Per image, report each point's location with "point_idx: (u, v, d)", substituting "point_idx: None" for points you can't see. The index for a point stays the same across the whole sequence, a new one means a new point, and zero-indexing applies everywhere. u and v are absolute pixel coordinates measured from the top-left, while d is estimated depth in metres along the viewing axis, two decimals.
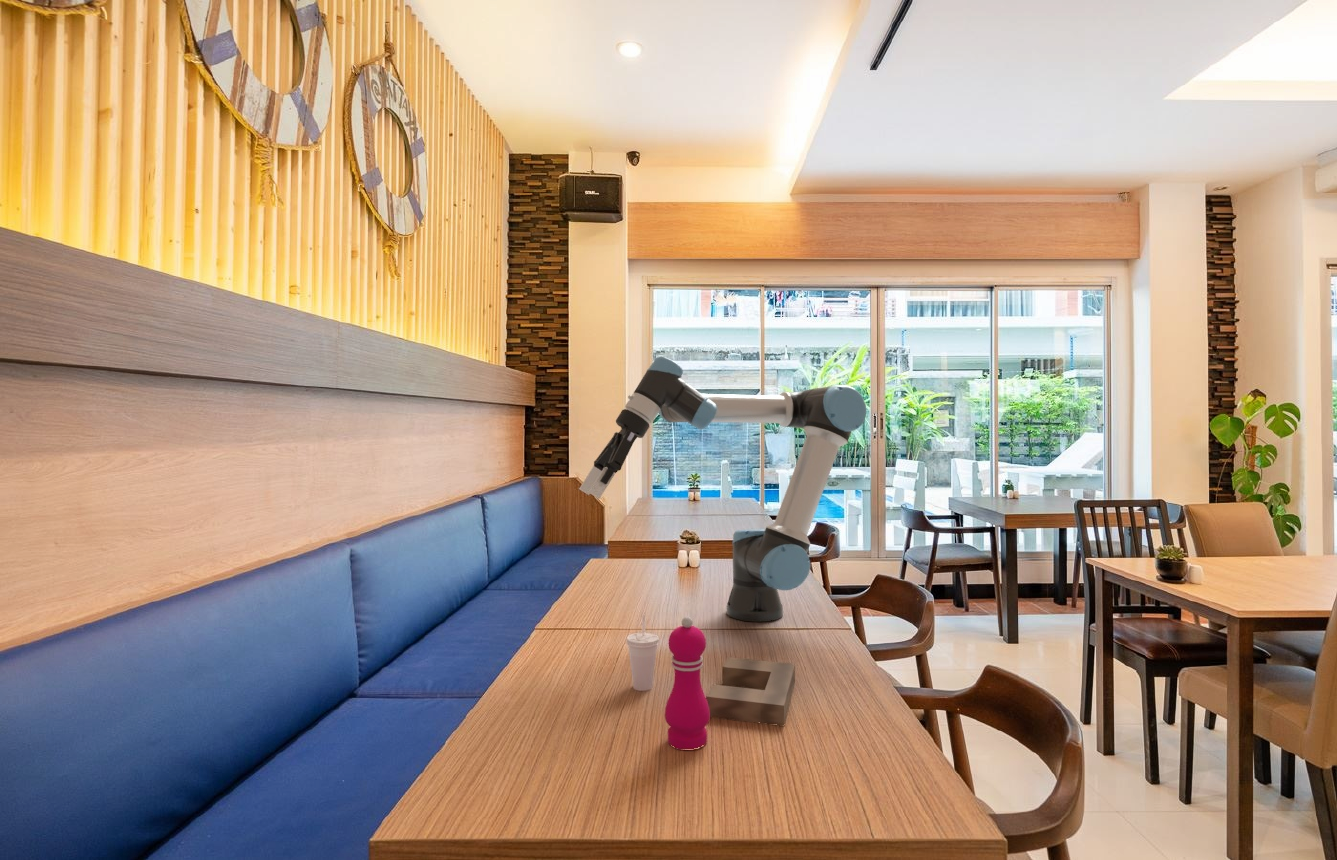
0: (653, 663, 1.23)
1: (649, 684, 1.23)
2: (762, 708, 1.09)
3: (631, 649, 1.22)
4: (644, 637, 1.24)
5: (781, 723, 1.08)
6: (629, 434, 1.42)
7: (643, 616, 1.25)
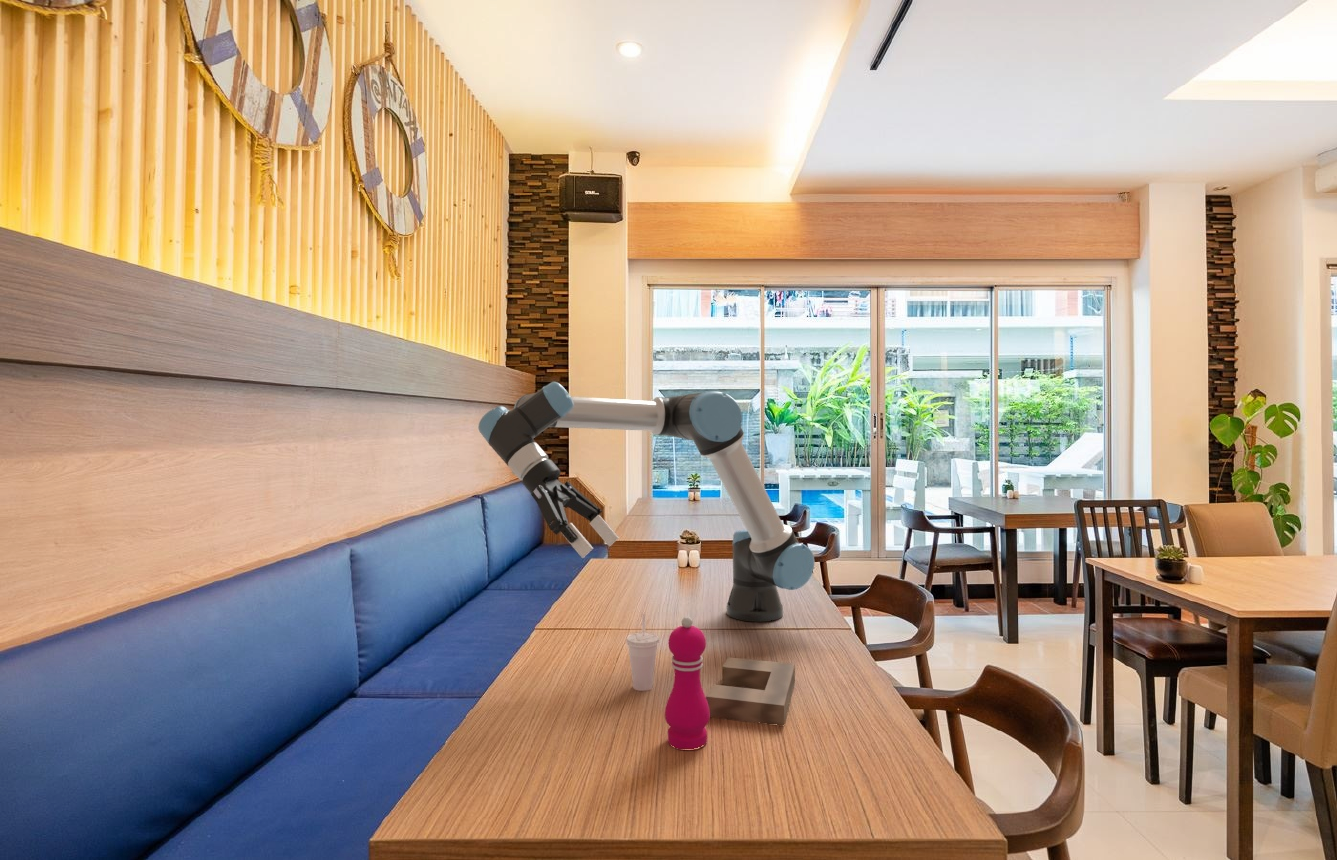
0: (653, 663, 1.23)
1: (649, 684, 1.23)
2: (762, 708, 1.09)
3: (631, 649, 1.22)
4: (644, 637, 1.24)
5: (781, 723, 1.08)
6: (534, 494, 1.24)
7: (643, 616, 1.25)
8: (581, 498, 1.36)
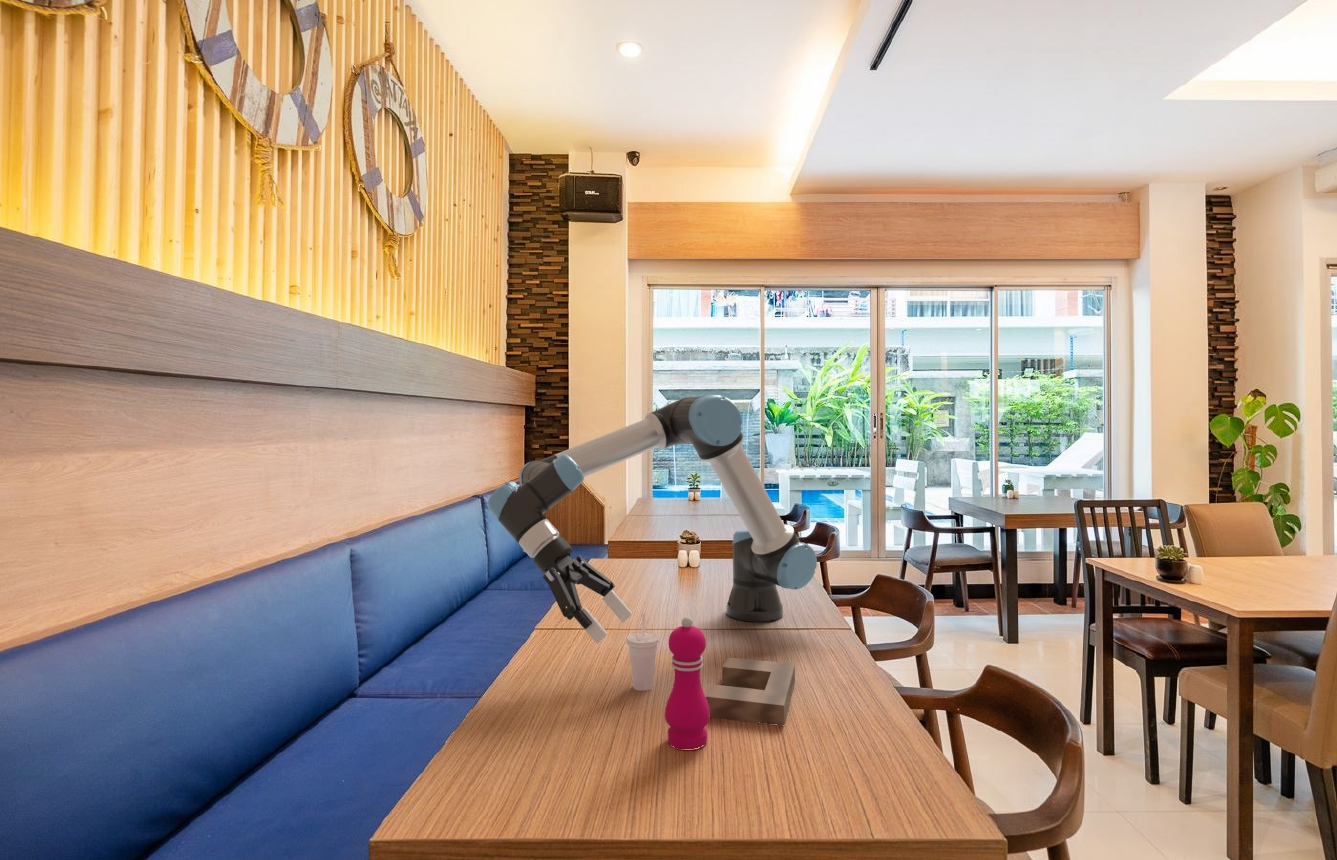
0: (653, 663, 1.23)
1: (649, 684, 1.23)
2: (762, 708, 1.09)
3: (631, 649, 1.22)
4: (644, 637, 1.24)
5: (781, 723, 1.08)
6: (546, 577, 1.22)
7: (643, 616, 1.25)
8: (593, 572, 1.34)
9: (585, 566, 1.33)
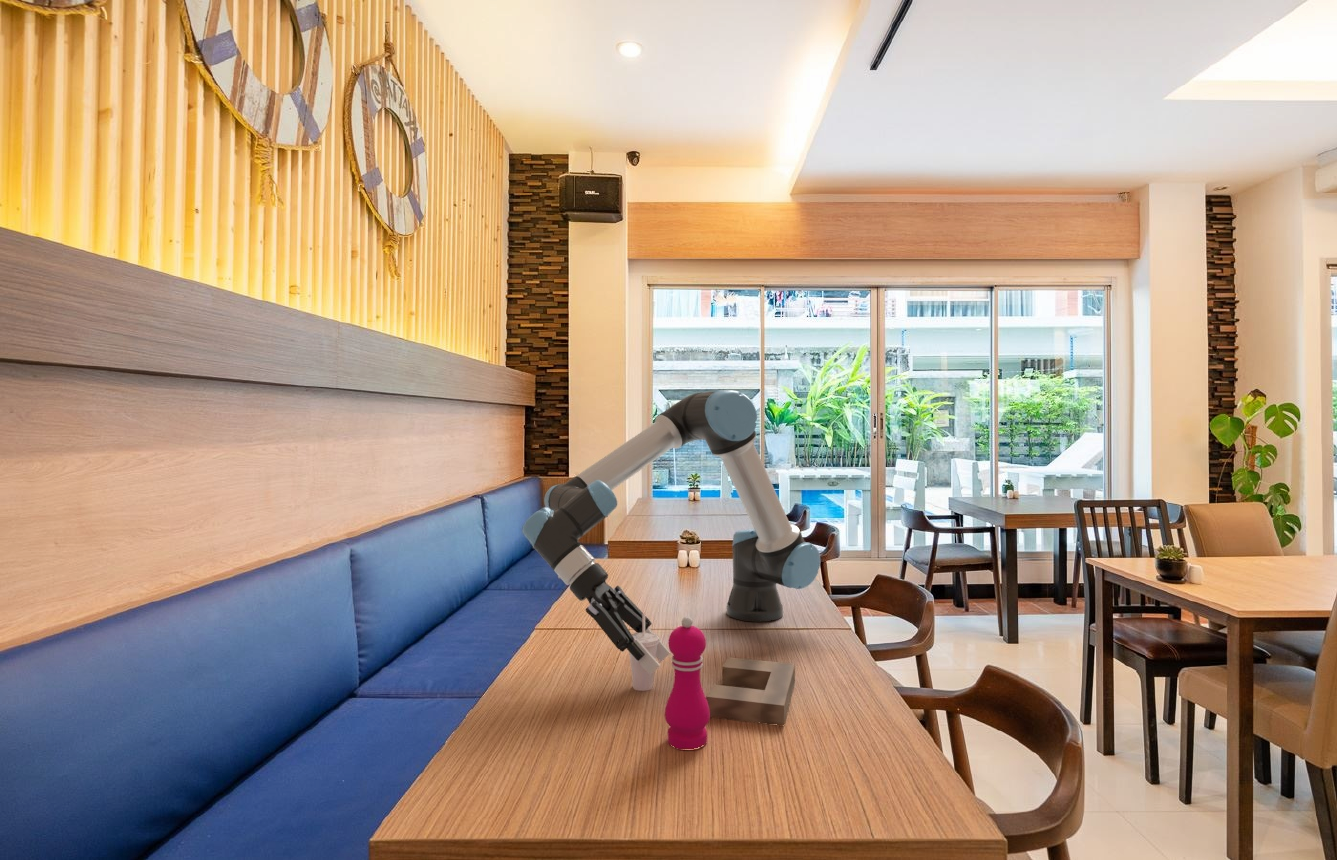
0: None
1: (649, 684, 1.23)
2: (762, 708, 1.09)
3: None
4: (644, 637, 1.24)
5: (781, 723, 1.08)
6: (590, 611, 1.20)
7: (643, 616, 1.25)
8: (629, 605, 1.31)
9: (622, 597, 1.31)
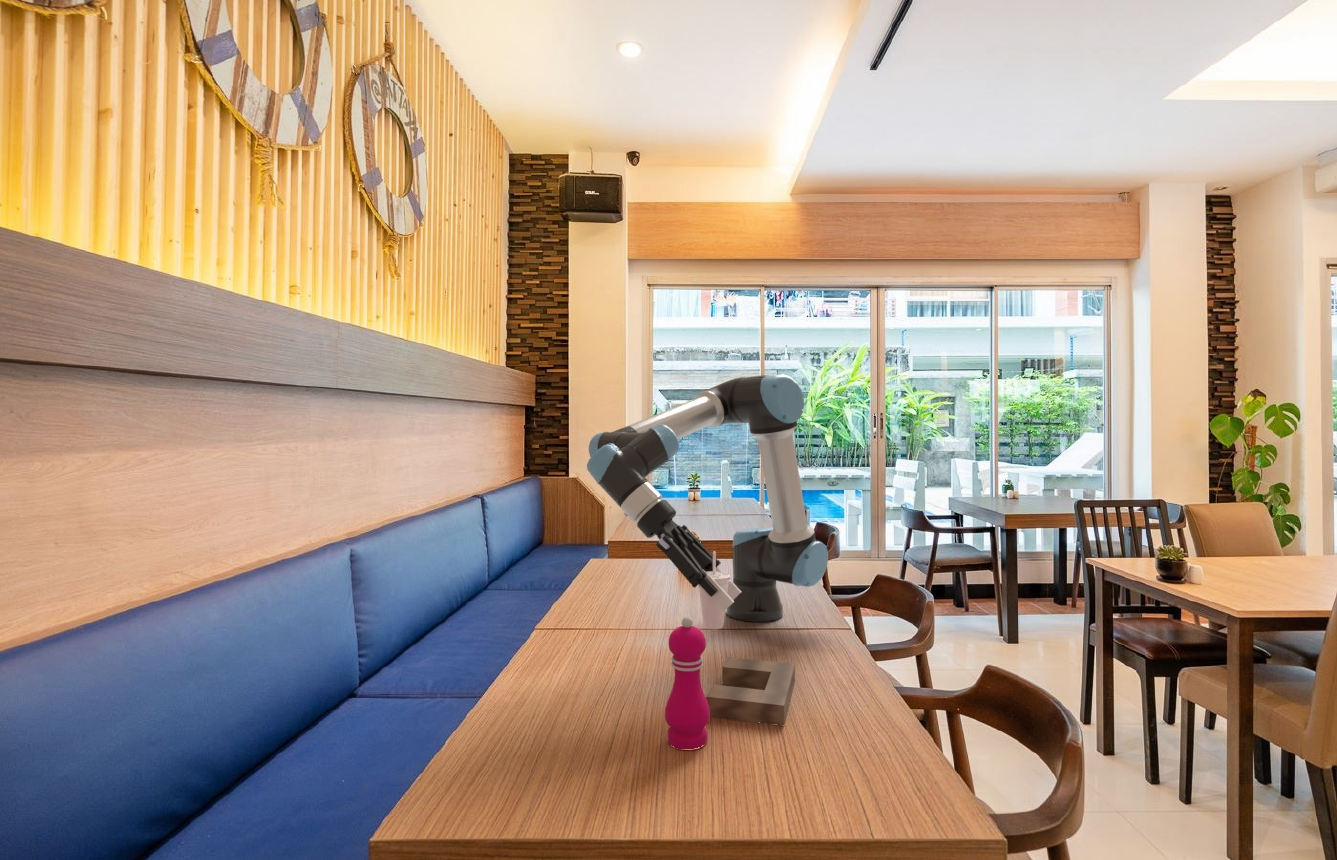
0: None
1: (720, 622, 1.18)
2: (762, 708, 1.09)
3: None
4: (715, 574, 1.19)
5: (781, 723, 1.08)
6: (661, 545, 1.16)
7: (714, 553, 1.20)
8: (697, 544, 1.26)
9: (689, 536, 1.27)
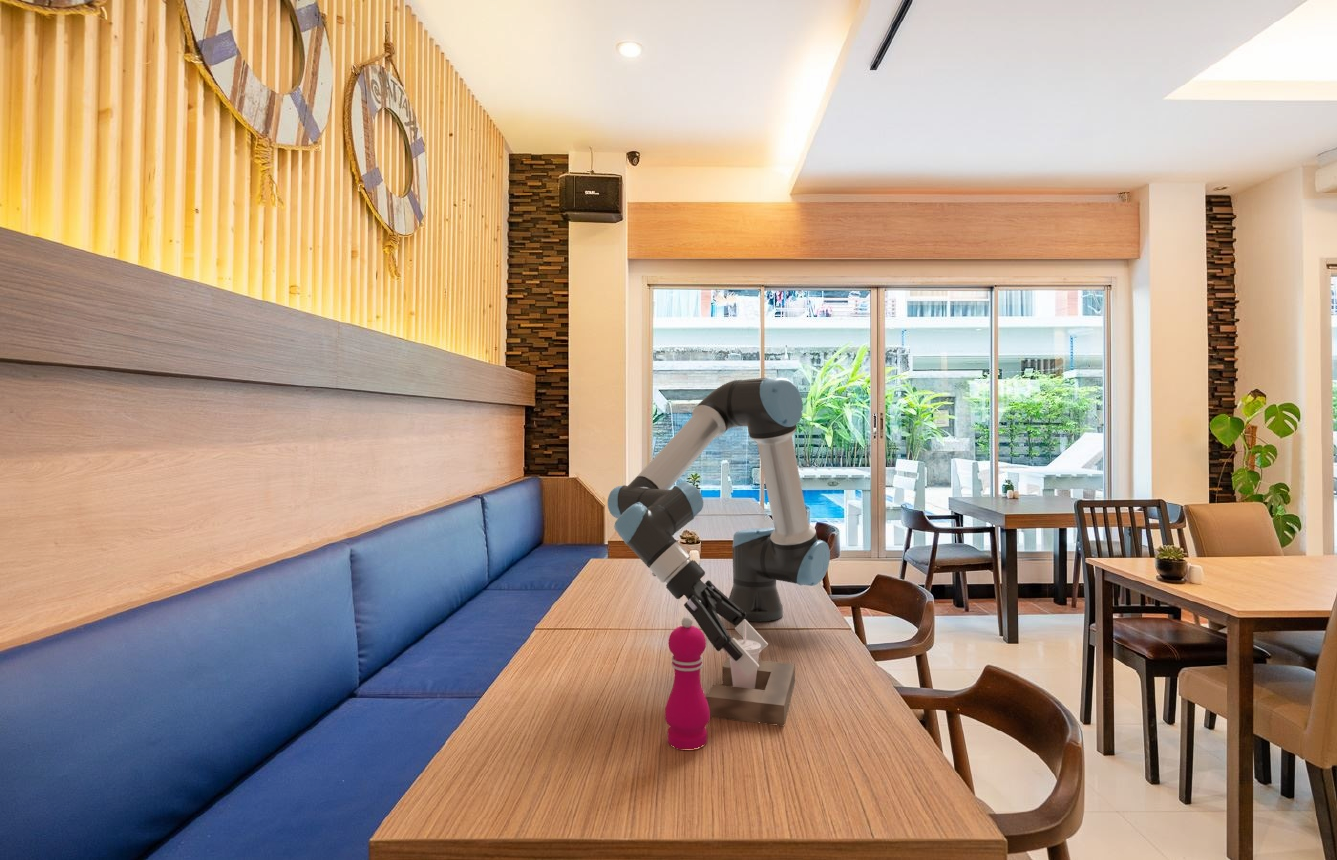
0: (756, 671, 1.19)
1: None
2: (762, 708, 1.09)
3: None
4: (746, 644, 1.19)
5: (781, 723, 1.08)
6: (688, 606, 1.15)
7: (744, 622, 1.20)
8: (723, 599, 1.27)
9: (715, 592, 1.27)
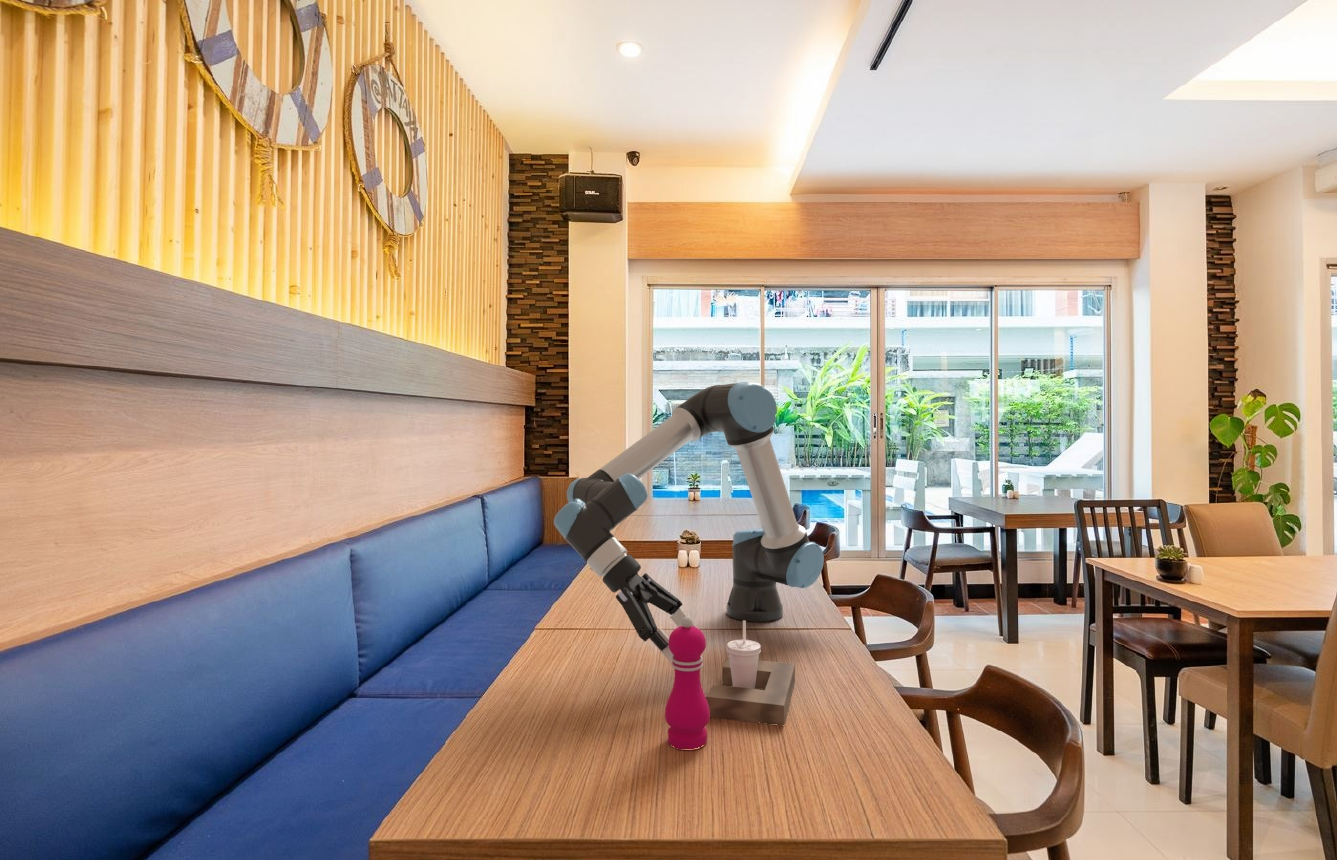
0: (755, 672, 1.19)
1: None
2: (762, 708, 1.09)
3: (733, 658, 1.18)
4: (745, 645, 1.19)
5: (781, 723, 1.08)
6: (619, 597, 1.19)
7: (744, 623, 1.20)
8: (660, 590, 1.31)
9: (652, 584, 1.31)
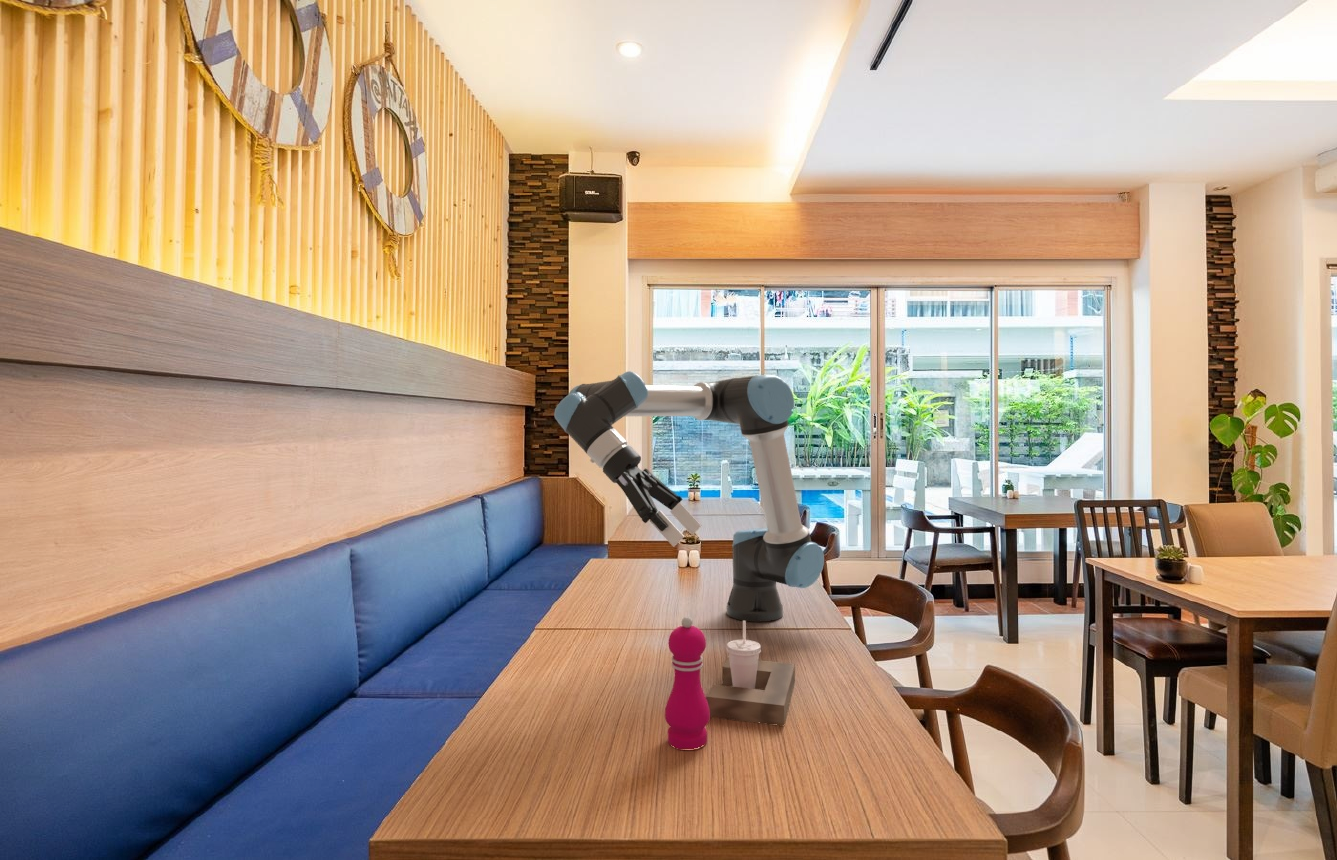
0: (755, 672, 1.19)
1: None
2: (762, 708, 1.09)
3: (733, 658, 1.18)
4: (745, 645, 1.19)
5: (781, 723, 1.08)
6: (620, 481, 1.19)
7: (744, 623, 1.20)
8: (660, 486, 1.31)
9: (652, 479, 1.31)
